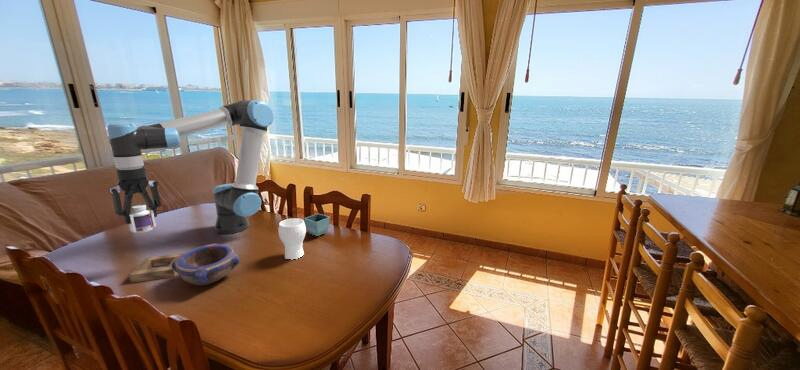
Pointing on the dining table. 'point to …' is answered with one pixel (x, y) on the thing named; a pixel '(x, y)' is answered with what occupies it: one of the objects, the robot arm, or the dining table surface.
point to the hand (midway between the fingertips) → (143, 228)
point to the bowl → (206, 264)
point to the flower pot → (317, 224)
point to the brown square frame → (147, 273)
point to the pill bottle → (141, 218)
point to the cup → (292, 237)
